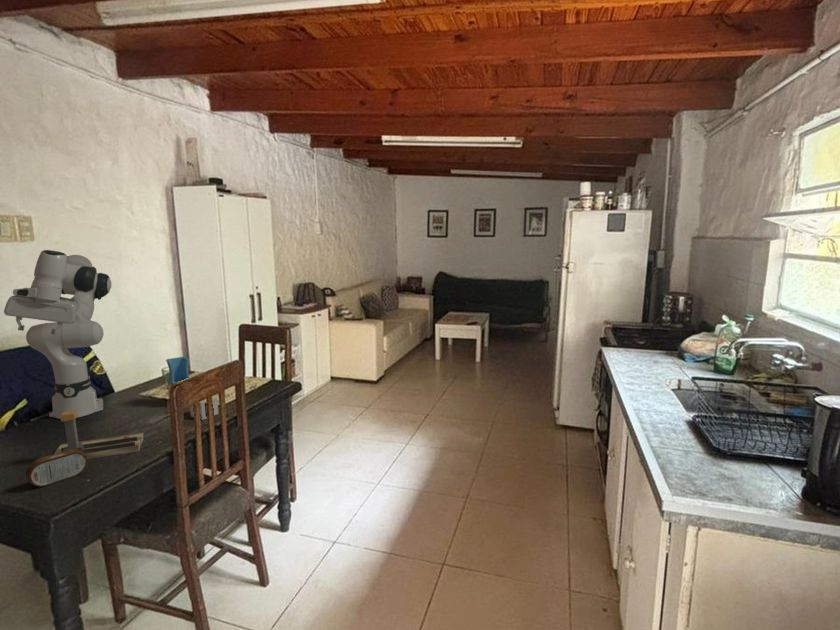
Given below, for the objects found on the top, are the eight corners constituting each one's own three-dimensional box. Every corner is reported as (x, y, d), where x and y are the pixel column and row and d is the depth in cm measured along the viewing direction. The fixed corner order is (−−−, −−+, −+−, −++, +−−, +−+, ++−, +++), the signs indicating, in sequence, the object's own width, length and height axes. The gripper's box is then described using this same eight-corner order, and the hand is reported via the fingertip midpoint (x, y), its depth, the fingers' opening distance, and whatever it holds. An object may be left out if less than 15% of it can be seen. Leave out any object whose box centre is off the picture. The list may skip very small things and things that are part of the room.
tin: (87, 469, 151) (84, 444, 149) (90, 472, 149) (87, 447, 147) (27, 489, 139) (23, 462, 138) (30, 492, 137) (26, 465, 136)
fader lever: (66, 450, 159) (61, 412, 157) (84, 448, 161) (79, 409, 158) (63, 455, 156) (57, 415, 153) (81, 452, 157) (76, 413, 155)
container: (219, 414, 196) (216, 383, 194) (202, 420, 190) (199, 389, 188) (207, 410, 200) (204, 381, 198) (190, 416, 194) (187, 386, 192)
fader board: (61, 449, 164) (60, 441, 164) (143, 437, 174) (142, 429, 173) (50, 465, 154) (48, 455, 153) (138, 451, 163) (137, 442, 162)
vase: (173, 407, 204) (169, 362, 201) (169, 403, 210) (165, 359, 207) (193, 403, 209) (189, 359, 206) (188, 399, 215) (184, 356, 212)
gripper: (81, 299, 179) (73, 335, 178) (11, 289, 168) (3, 327, 168) (79, 299, 174) (71, 337, 173) (7, 288, 163) (-2, 328, 162)
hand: (37, 332), depth 170 cm, fingers open, 8 cm apart
